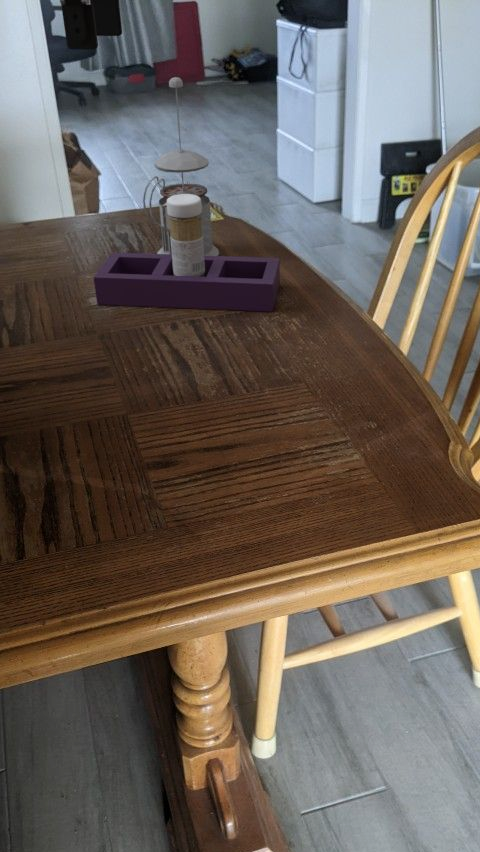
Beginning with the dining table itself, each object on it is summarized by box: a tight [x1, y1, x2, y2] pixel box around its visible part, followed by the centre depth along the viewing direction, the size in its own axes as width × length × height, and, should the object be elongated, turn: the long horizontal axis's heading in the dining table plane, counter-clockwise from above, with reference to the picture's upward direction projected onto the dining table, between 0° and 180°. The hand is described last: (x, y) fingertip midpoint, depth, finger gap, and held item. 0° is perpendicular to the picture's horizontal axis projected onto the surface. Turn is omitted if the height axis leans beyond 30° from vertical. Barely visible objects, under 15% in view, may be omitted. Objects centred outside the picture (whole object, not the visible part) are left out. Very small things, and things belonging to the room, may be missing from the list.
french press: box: [142, 76, 220, 256], centre depth 115 cm, size 10×12×25 cm
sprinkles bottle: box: [166, 194, 205, 277], centre depth 106 cm, size 5×5×13 cm
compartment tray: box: [93, 251, 281, 313], centre depth 109 cm, size 9×24×4 cm, turn 84°
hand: (96, 41), depth 86 cm, fingers open, 9 cm apart
